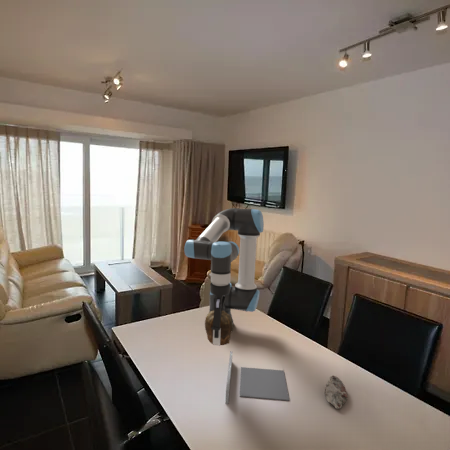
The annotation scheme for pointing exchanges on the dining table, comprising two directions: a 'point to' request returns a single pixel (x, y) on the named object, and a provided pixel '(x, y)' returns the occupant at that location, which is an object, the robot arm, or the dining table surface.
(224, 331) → the ribbed globe cactus
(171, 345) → the dining table surface
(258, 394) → the rest mat
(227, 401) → the acrylic wall
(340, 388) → the mineral rock
